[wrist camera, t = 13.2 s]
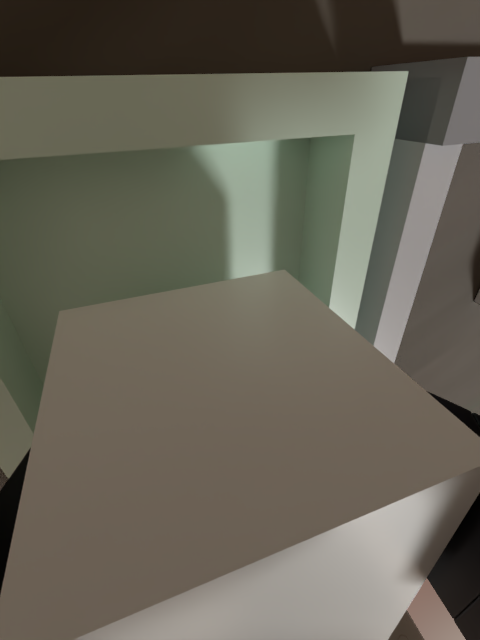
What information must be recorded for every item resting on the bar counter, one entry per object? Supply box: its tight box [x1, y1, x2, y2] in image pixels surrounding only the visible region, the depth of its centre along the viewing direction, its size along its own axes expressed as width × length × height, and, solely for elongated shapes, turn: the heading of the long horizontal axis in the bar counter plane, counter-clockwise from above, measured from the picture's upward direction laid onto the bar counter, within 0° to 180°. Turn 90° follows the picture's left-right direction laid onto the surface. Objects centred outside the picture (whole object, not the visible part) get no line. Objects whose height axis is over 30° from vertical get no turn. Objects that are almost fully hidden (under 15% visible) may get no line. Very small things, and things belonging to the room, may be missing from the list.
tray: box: [0, 71, 409, 479], centre depth 10 cm, size 12×11×2 cm
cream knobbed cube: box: [0, 270, 480, 640], centre depth 7 cm, size 7×6×7 cm
